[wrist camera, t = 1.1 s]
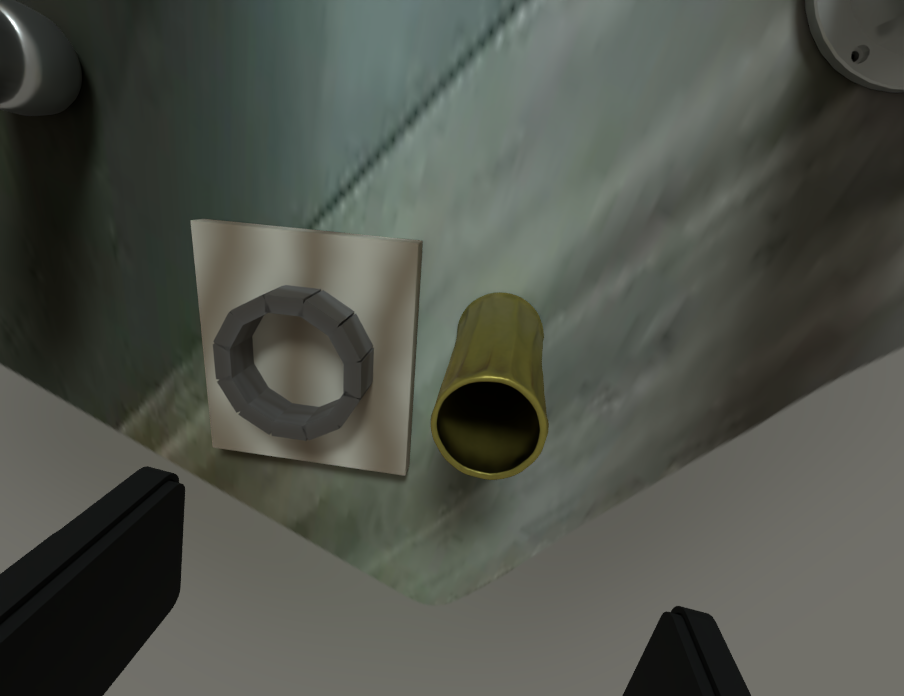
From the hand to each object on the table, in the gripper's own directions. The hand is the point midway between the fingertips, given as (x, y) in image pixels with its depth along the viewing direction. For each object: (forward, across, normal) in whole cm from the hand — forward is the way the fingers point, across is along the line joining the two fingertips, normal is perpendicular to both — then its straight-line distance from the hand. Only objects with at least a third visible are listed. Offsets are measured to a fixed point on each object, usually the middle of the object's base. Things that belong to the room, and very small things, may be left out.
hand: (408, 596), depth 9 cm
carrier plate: (+27, +12, +7) cm, 30 cm away
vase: (+27, -2, +2) cm, 27 cm away
